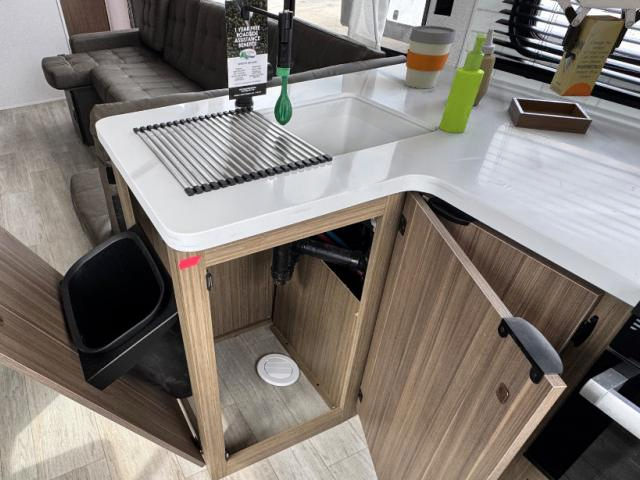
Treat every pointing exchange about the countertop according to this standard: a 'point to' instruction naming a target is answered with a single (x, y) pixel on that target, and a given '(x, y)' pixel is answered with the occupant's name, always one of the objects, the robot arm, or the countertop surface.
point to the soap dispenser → (464, 90)
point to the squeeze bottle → (486, 65)
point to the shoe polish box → (587, 56)
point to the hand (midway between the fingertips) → (587, 50)
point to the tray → (549, 115)
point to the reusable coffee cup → (427, 54)
